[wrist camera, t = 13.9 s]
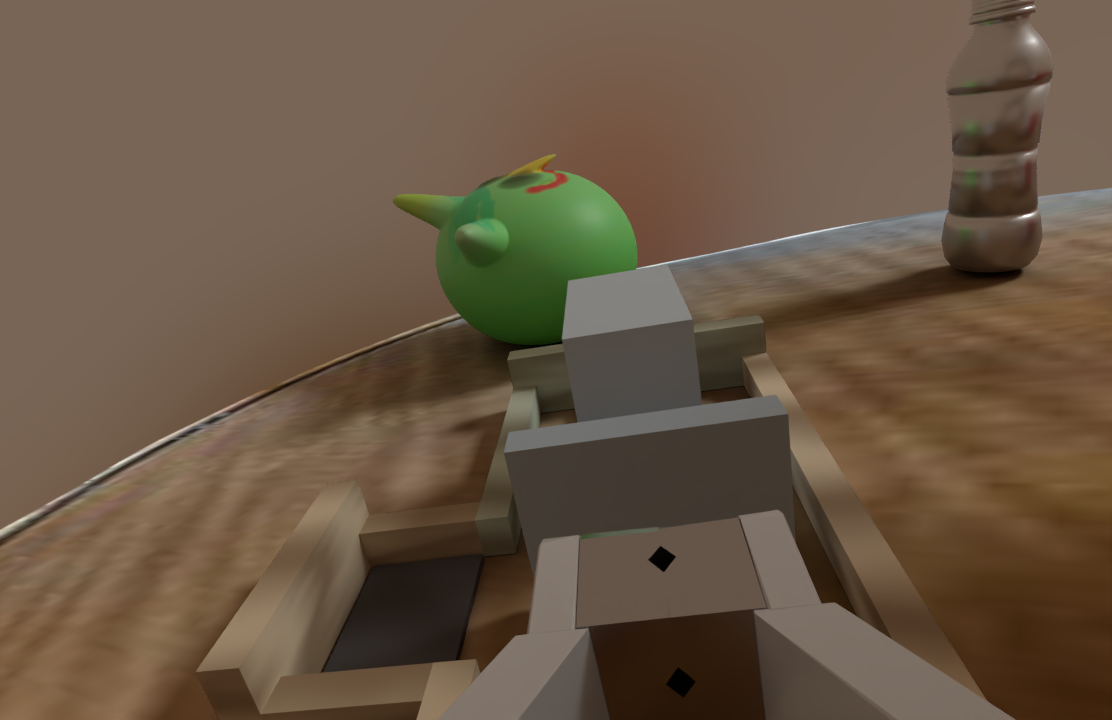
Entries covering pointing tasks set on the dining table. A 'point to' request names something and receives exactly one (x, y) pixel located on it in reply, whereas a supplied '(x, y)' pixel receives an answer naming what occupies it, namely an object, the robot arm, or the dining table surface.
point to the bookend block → (644, 425)
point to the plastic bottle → (996, 139)
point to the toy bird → (524, 248)
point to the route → (487, 530)
